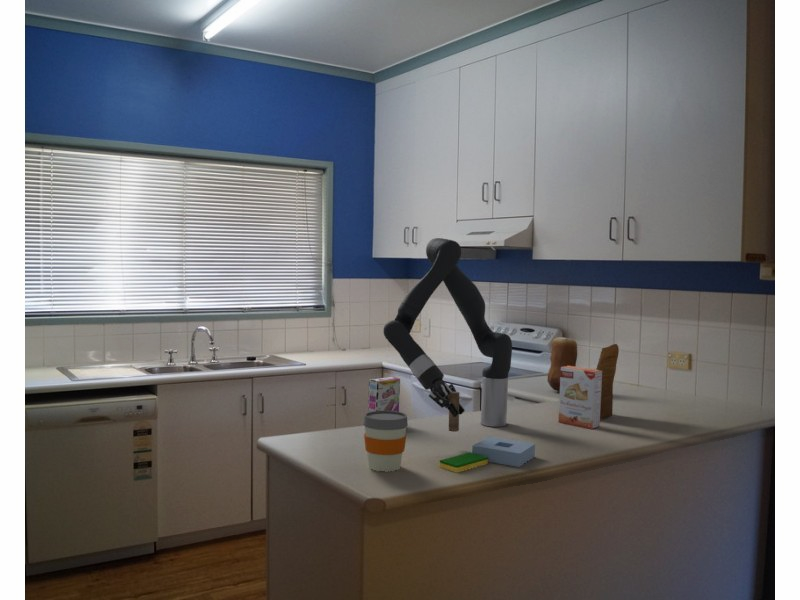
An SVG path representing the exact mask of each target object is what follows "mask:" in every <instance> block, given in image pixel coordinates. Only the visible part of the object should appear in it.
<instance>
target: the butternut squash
mask: <svg viewBox="0 0 800 600" xmlns="http://www.w3.org/2000/svg"><path fill="white" fill-rule="evenodd" d="M550 352H551V353H550V354H551V355H550V358H549V361H550V367H549V369H548V373H547V381H546V382H547V383H548V384H549V386H550V387H551V389H553V390H554V391H558V392H559V393H560V376H561V367H564V366H575V367H577V366H576V365H577V361H578V343H577V341H576V340H574V339H572V338H568V337H562V336H561V337H555V338H554V339H553V340H552V342H551V351H550Z"/></svg>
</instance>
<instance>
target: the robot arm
mask: <svg viewBox="0 0 800 600" xmlns="http://www.w3.org/2000/svg"><path fill="white" fill-rule="evenodd" d="M425 255H426V258H427V260H428V262H429V263H430V264H431V268H430V269H429V271H428V272H426V274H424V276H423V277H422V278H421V279H420V280H418V281H417V283H415V284H414V285H413V286H412V287H410V289H409V290H408V292H407V293H406V295H405V297H403V300H402V302H401V303H400V305H399V306H398V309H397V314H396V316H395V318H394V319H393V320H389V321H388V322H386V323H385V325H384V326H383V335H384V338H385V339H386V340H387V342H388V343H389V344H390V345H391V346H392V347H393V349H395V351H397V354H399V355H400V357H401V359H402V360H403V361H404V363H405V364H406V366H407V367H408V368H409V370H410V372H411V373H412V375H413V376H414V378H416V379H417V381H418V382H419V384H420V385H421V386H422V387H423V388H424V390H426V391H428V390H429V391H430V393H429V394H428V397H429V398H430V399H431V400H432V401H433V402H435V404H437V405H438V406H439V407H440V408H441V409H443V408H445V409H447V410H448V412H449V411H450V412H451V414H452V415H453V416H454V417H456V416H457V415H458V414H459V416H460V415H462V414H464V413H465V412H466V410H465V408H464V407H463V406H462V405H461V403H460V402H459V411H458V410H457V408H456V407H455V406H454V405H453V404H452V402H451V401H450V399H449V392H457V389H456V387H455V386H454V384H452V383H450V384H447V383H446V381H444V380H443V379H444V377H445V376H444V373H443V372H442V371H441V370H440V368H439V367H438V366H437V364H436V363H435V362H434V361H433V359H432V358H431V357H430V356H428V354H427V353H426V352H425V351H424V349H423V348H422V347H421V346H420V345H419V344H418V343H417V342H416V341H415V339H414V338H413V337H412V335H411V334H410V333H411V331H412V330H413V327H414V324H415V322H416V320H417V319H418V317H419V315H420V314H421V312H422V311H423V309H424V307H425V306H426V304H427V303H428V301H429V299H430V298H431V296H432V295H433V294H434V292H435V291H436V290H437V288H438V287H439V286H440V285H441V283H442V282H443V283H444V285H445V287H446V288H447V291H448V292H449V294H450V295H451V298H452V299H453V301H454V304H455V305H456V307H457V309H458V311H459V312H460V313H461V315H462V317H463V318H464V320H465V323H466V324H467V326H468V328H469V329H470V332H471V334H472V336H473V339H474V340H475V343H476V345H477V348H478V350H479V352H480V353H481V354H482V355H483V356H485V357H487V358H490V359H491V364H490V365H489V366H487V367H484V368H482V374H481V375H482V376H481V378H482V379H481V380H482V381H481V403H480V404H481V407H480V424H481V425H483V426H486V427H494V428H495V427H498V428H499V427H505V426H507V418H508V417H507V415H508V414H507V413H508V388H509V373H510V370H511V366H512V365H511V364H512V357H513V355H512V354H513V342H512V339H511V337H510V336H509V335H508V334H506V333H501V332H495V331H493V330H492V329H491V328H490V327H489V325H488V322H487V321H486V318H485V315H486V303H485V300H484V297H483V295H482V294H481V292H480V289H479V288H478V287H477V286H476V284H475V283H474V282H473V281H472V280H471V279H470V278H469V277H468V276H467V275H466V274H465V273H464V272H463V271H462V270H461V269H460V268H459V266H458V263H459V261H460V259H461V257H462V247H461V244H459V243H458V242H457V241H455V240H452V239H448V238H442V237H441V238H440V237H437V238H436V237H435V238H433V239H431V240H429V241H428V243H427V244H426V248H425ZM459 399H460V396H459Z"/></svg>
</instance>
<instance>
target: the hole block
mask: <svg viewBox="0 0 800 600" xmlns="http://www.w3.org/2000/svg"><path fill="white" fill-rule="evenodd" d="M471 453H474V454H478V455H481V456H485V457H488V463H494V464H499V465H506V466H511V467H517V468H520V467H522V466H523V465H525V464H526V463H528V462H529V461H531V460H532V459H534V458H535V455H536V443H532V442H525V441H518V440H513V439H508V438H500V437H494V436H488V437H486V438H484V439H482V440H480V441H478V442H476V443H474V444H473V445H472V447H471ZM533 457H534V458H533ZM530 459H531V460H530ZM527 461H528V462H527ZM524 463H525V464H524Z"/></svg>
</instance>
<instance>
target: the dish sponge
mask: <svg viewBox="0 0 800 600" xmlns="http://www.w3.org/2000/svg"><path fill="white" fill-rule="evenodd" d="M488 463H489V462H488V457H485V456H481V455H478V454H474V453H472V451H471V452H465V453H462V454H459V455H454V456H450V457H448V458H447V457H446V458H444V459H443V458H442V459H439V463H438V467H439V468H441V469H444V470H447V471H450V472H453V473H456V472H458V473H461V471H462V472H465V471H468V470H467V469H469V470H471V468H472V469H475V468H478V467H477V466H479V467H482V466H484V465H488ZM481 465H482V466H481ZM474 467H475V468H474ZM464 470H465V471H464Z"/></svg>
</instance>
